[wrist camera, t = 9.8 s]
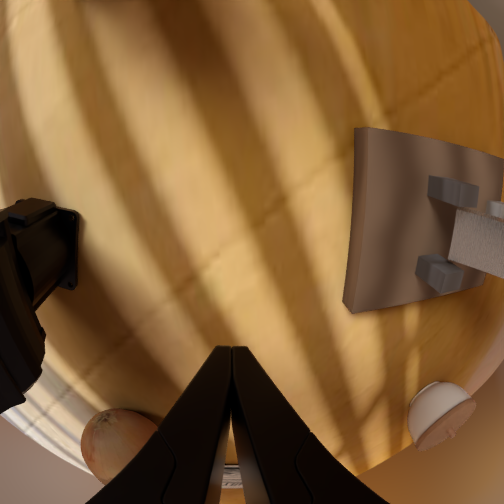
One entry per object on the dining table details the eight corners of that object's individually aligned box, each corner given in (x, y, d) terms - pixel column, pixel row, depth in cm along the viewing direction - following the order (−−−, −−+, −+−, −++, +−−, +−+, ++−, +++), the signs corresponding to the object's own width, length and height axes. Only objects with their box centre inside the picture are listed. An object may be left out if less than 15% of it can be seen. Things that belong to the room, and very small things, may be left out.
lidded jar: (436, 363, 29) (472, 408, 21) (458, 375, 33) (487, 410, 24) (384, 415, 32) (410, 461, 23) (415, 419, 35) (438, 456, 27)
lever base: (342, 301, 23) (383, 356, 16) (354, 128, 18) (419, 125, 11) (473, 277, 25) (514, 307, 18) (492, 156, 20) (544, 169, 13)
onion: (126, 441, 28) (117, 502, 18) (76, 396, 24) (53, 464, 15) (187, 432, 27) (187, 503, 18) (137, 383, 24) (120, 468, 14)
